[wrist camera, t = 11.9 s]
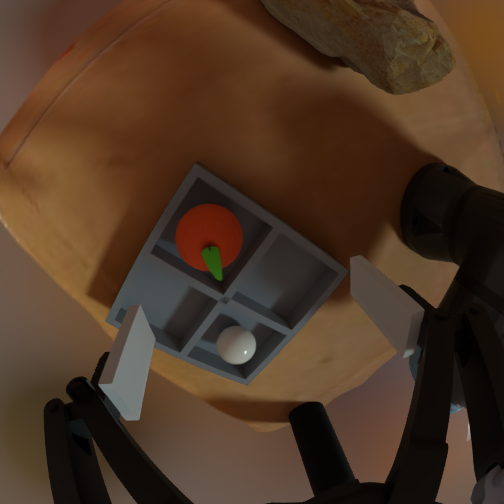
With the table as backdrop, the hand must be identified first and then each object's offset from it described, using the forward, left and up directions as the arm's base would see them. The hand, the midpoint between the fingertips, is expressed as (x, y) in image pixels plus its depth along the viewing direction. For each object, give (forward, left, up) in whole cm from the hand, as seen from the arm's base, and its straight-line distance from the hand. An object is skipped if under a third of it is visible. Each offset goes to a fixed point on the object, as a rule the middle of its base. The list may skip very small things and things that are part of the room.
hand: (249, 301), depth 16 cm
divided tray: (-4, +7, -18) cm, 20 cm away
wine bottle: (-35, +24, -18) cm, 46 cm away
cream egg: (-9, +12, -17) cm, 23 cm away
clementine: (+1, +2, -17) cm, 17 cm away
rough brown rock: (+5, -31, -18) cm, 36 cm away
